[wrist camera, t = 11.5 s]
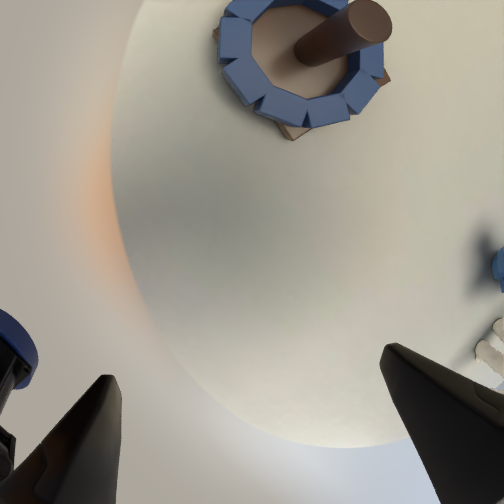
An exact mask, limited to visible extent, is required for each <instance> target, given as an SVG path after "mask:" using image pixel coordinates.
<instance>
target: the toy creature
mask: <svg viewBox="0 0 504 504" xmlns="http://www.w3.org/2000/svg"><path fill="white" fill-rule="evenodd" d="M493 330H494V332H495V333H496V335H497V336H498V337H499V338H500V339H501V341H503V343H504V319H499V320H497V321H496V322H495V323H494V324H493ZM475 353H476V355H477V357H476V361H477V362H481V360H482V361H484V362H485V363H487V364H488V365H489V366H490V367H491V368H492V369H493V371H495V372H496V373H498V374H500V375H501V376H502V377H503V378H504V354H502V353H501V352H499V351H498V350H496V349H495V348H494V347H492V346H491V345H490V344H489V343H488V342H486V341H484V340H481V341H480V342H479V343H478V344H477V346H476V350H475ZM491 390H494V391H496V392H498V393H501V394H504V390H495V389H493V388H491Z"/></svg>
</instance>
